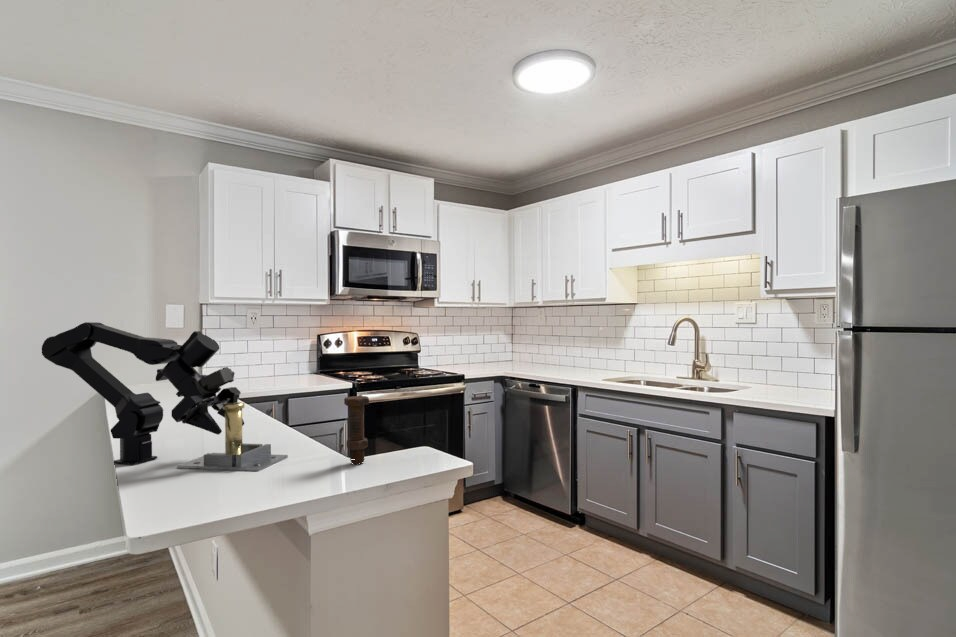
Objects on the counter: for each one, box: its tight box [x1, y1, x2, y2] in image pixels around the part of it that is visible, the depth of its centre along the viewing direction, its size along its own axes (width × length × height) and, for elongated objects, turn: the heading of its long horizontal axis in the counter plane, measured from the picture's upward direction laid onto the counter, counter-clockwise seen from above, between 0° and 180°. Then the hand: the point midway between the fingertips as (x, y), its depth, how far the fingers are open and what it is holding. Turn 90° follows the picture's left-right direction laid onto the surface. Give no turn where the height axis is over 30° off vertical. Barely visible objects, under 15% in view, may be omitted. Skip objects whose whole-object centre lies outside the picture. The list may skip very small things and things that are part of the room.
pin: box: [223, 401, 245, 456], centre depth 123 cm, size 5×5×13 cm
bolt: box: [343, 395, 370, 465], centre depth 120 cm, size 6×5×15 cm
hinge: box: [176, 442, 289, 472], centre depth 122 cm, size 20×12×3 cm, turn 80°
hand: (232, 429), depth 123 cm, fingers open, 9 cm apart
